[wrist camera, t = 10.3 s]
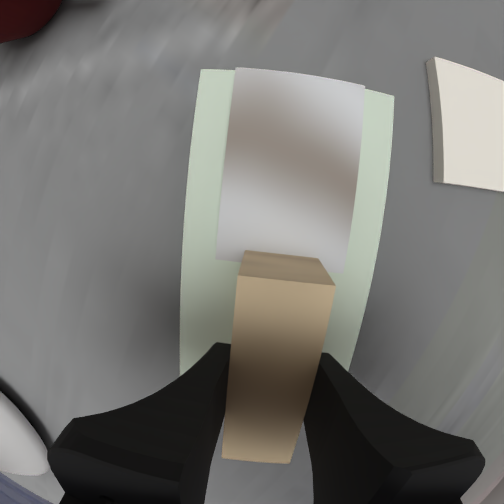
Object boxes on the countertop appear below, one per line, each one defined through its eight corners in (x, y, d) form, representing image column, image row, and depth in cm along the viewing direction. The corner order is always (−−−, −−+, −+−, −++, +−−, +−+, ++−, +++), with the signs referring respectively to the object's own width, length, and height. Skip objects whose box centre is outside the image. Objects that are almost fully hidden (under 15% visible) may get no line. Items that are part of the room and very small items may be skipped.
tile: (525, 195, 11) (518, 87, 10) (443, 182, 11) (434, 56, 10) (510, 193, 12) (504, 91, 11) (429, 182, 12) (422, 65, 11)
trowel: (307, 408, 14) (315, 463, 10) (208, 399, 14) (195, 453, 10) (360, 89, 11) (395, 58, 7) (237, 72, 11) (225, 31, 7)
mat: (333, 398, 15) (336, 408, 14) (183, 384, 15) (180, 393, 14) (387, 100, 11) (394, 96, 11) (204, 75, 11) (201, 69, 11)
